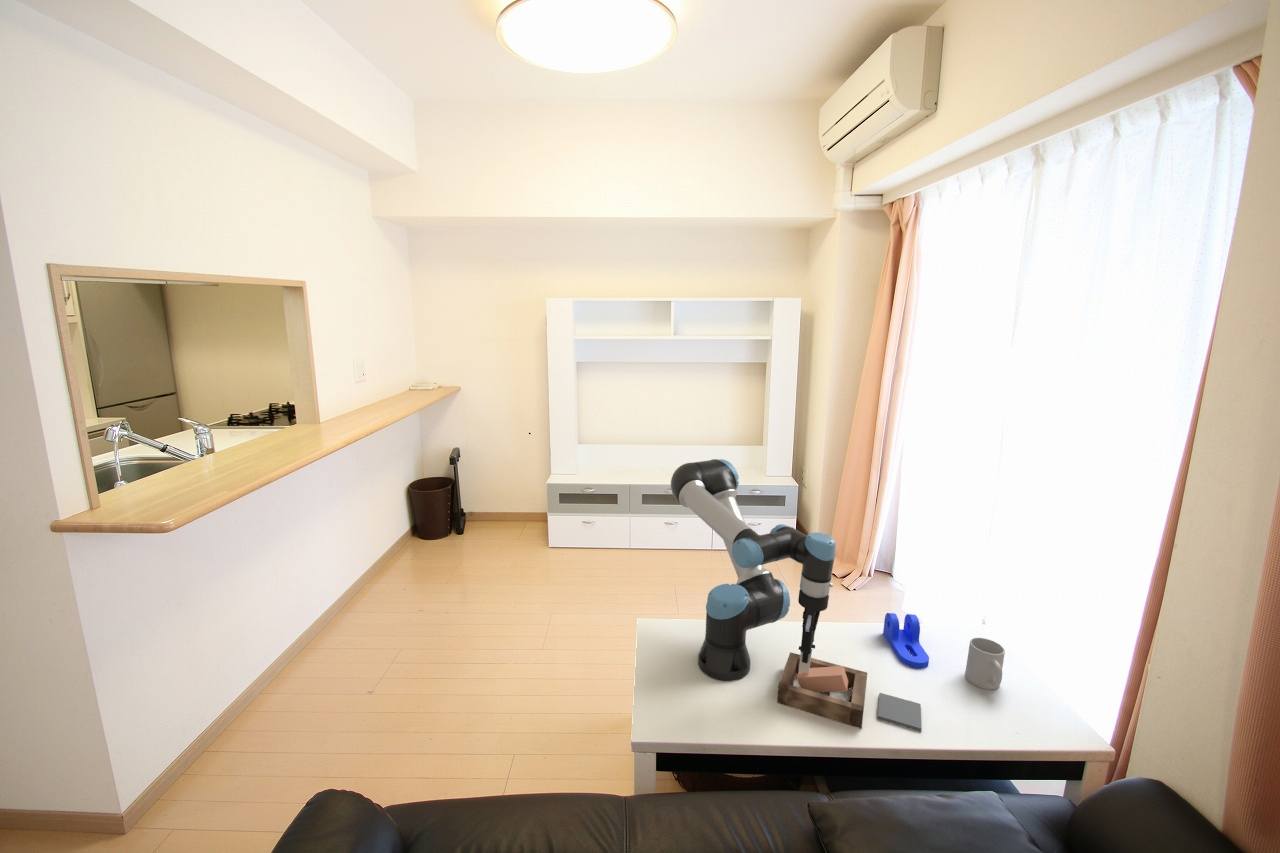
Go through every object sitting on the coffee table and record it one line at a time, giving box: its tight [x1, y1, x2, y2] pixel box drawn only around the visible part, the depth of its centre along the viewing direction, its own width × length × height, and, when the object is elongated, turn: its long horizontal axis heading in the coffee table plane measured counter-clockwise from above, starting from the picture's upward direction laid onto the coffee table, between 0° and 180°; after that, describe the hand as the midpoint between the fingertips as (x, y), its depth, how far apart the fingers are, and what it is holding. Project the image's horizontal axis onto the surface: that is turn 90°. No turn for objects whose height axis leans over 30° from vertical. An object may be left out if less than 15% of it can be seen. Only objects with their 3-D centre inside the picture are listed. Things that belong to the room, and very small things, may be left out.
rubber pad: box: [877, 692, 923, 733], centre depth 143 cm, size 10×10×1 cm
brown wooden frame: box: [776, 651, 868, 730], centre depth 149 cm, size 21×17×5 cm
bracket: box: [882, 612, 930, 670], centre depth 170 cm, size 18×8×9 cm, turn 175°
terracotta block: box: [796, 665, 848, 693], centre depth 148 cm, size 12×4×4 cm, turn 64°
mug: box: [964, 637, 1006, 691], centre depth 154 cm, size 12×8×11 cm
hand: (803, 670), depth 150 cm, fingers closed
